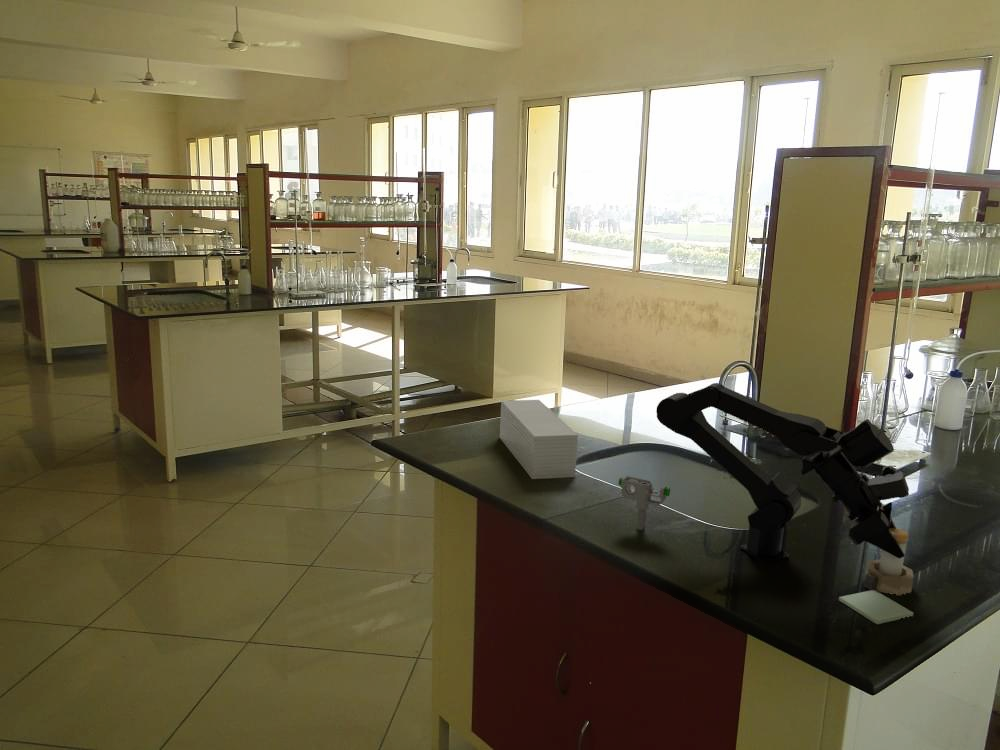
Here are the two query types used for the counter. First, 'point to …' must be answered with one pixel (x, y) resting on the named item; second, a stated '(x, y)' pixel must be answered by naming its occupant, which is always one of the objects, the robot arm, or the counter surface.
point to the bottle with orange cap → (890, 562)
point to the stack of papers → (538, 439)
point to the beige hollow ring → (888, 580)
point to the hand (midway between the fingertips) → (902, 552)
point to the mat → (875, 606)
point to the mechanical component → (642, 495)
